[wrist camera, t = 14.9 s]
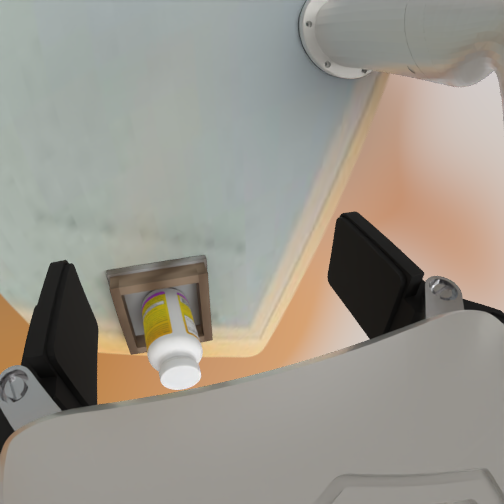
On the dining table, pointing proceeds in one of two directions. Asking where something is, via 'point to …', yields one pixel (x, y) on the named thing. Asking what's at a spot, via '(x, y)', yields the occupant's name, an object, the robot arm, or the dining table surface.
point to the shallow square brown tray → (158, 277)
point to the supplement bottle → (171, 338)
